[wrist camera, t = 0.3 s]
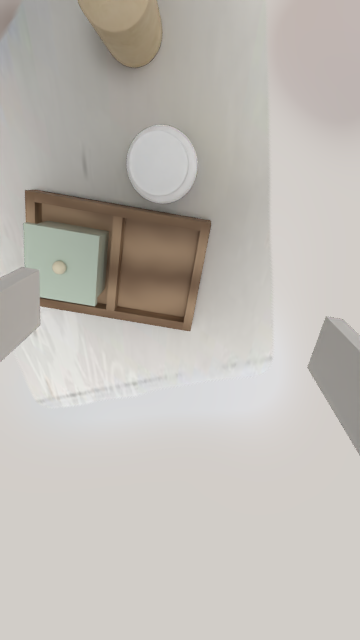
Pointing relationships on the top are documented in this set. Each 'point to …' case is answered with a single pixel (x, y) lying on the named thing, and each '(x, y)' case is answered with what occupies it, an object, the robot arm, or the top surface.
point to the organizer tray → (134, 258)
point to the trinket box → (67, 260)
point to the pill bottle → (162, 164)
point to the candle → (126, 28)
